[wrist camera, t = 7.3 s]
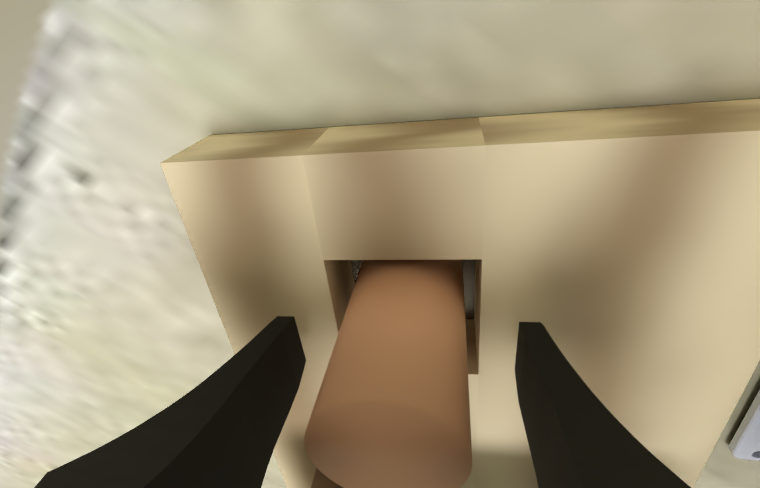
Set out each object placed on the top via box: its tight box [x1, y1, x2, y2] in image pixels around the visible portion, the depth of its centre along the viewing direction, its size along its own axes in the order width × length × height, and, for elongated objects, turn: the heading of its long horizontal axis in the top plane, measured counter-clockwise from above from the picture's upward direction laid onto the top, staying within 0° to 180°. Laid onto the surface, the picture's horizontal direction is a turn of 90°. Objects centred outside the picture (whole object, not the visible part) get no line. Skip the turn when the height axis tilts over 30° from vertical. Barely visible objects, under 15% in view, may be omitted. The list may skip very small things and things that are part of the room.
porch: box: [160, 99, 760, 488], centre depth 14 cm, size 18×18×7 cm
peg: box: [304, 259, 472, 488], centre depth 13 cm, size 4×4×8 cm
